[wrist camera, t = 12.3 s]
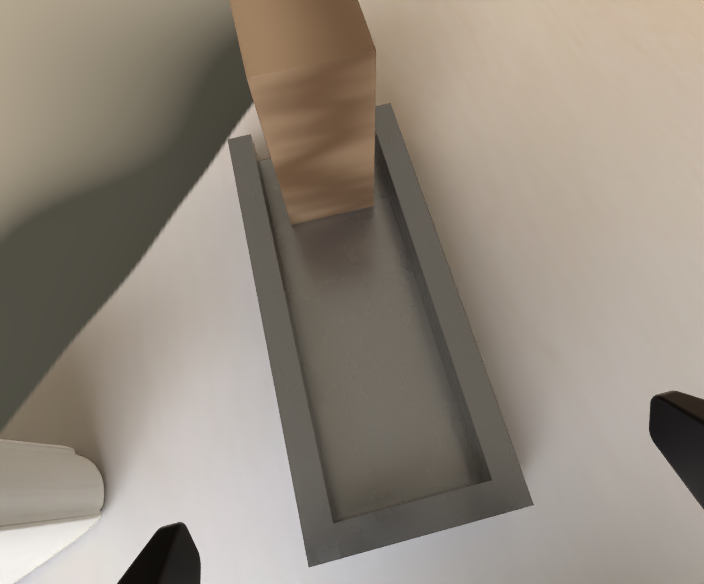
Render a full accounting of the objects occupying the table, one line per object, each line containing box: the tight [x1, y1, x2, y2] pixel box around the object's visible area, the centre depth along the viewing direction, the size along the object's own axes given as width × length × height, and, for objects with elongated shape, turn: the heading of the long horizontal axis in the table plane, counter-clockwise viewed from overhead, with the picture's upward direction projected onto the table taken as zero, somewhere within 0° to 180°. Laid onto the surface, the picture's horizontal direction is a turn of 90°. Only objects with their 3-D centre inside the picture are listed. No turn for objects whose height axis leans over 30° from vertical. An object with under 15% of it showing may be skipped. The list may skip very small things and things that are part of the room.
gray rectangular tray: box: [228, 104, 534, 567], centre depth 23 cm, size 20×9×3 cm, turn 14°
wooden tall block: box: [230, 0, 376, 225], centre depth 22 cm, size 4×5×10 cm
